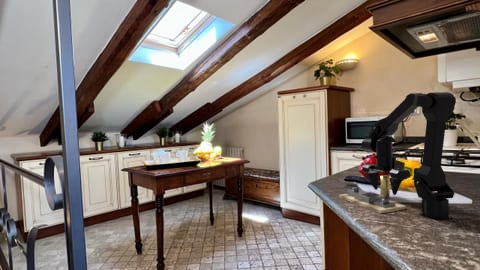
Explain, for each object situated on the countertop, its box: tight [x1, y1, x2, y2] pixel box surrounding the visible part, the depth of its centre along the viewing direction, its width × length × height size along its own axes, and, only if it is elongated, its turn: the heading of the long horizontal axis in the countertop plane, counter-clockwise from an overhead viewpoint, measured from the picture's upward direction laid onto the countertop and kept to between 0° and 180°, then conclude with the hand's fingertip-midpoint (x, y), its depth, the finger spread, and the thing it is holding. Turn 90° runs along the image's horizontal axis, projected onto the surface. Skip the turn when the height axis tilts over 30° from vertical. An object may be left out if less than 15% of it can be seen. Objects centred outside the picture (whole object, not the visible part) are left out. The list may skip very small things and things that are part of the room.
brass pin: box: [379, 174, 391, 200], centre depth 107 cm, size 3×3×9 cm
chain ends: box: [346, 186, 396, 208], centre depth 103 cm, size 19×8×3 cm, turn 17°
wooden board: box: [338, 193, 407, 214], centre depth 103 cm, size 22×11×1 cm, turn 17°
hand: (385, 192), depth 108 cm, fingers open, 9 cm apart
